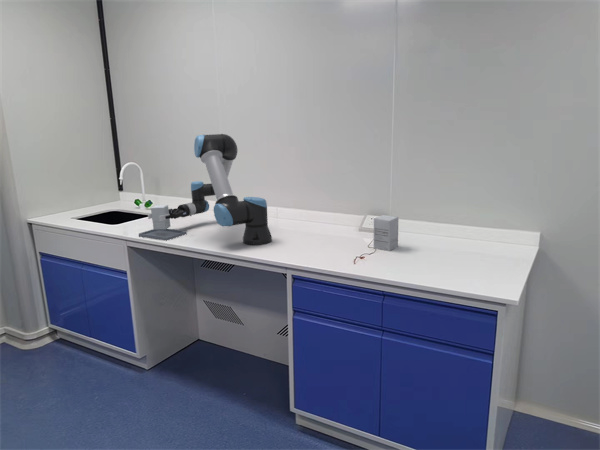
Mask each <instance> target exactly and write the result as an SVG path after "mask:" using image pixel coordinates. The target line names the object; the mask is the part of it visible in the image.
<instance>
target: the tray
mask: <svg viewBox="0 0 600 450" xmlns="http://www.w3.org/2000/svg"><path fill="white" fill-rule="evenodd" d="M185 234H186V235H187V231H186V230H181V229H180V230H179V229H173V228H172V229H171V228H167V229H157V230H154V229H149V230H147V231H143V232H139V233H138V237H141V238H146V239H153V240H160V241H165V240H166V241H167V240H168V241H170V239H171V240H173V238H174V239H176V237H177V238H180V237H183V236H185ZM182 235H183V236H182ZM179 236H180V237H179ZM168 241H167V242H168Z"/></svg>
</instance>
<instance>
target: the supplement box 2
mask: <svg viewBox="0 0 600 450" xmlns="http://www.w3.org/2000/svg"><path fill="white" fill-rule="evenodd" d="M398 247H399V216H392V215H388V214H387V215H385V214H382V215H379V216H377V217H374V218H373V249H377V250H383V251H388V252H390V251H393V250H394V249H396V248H398Z"/></svg>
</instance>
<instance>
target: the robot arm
mask: <svg viewBox="0 0 600 450" xmlns="http://www.w3.org/2000/svg"><path fill="white" fill-rule="evenodd" d="M193 145H194V146H193V152H194V156H195V157H196V158H198V159H199V158H200V161H201V162H202V164H205V167H206V171H207V173H208V176H209V179H210V183H204V181H201V180H200V181H199V180H197V181H192V182H191V183H190V192H191V202H187V203H185V204H184V203H183V204H179V205H178V206H177V208H168V209H169V214H166V215H162V216H159V220H160V221H163V220H167V219H170V220H173V219H174V220H176V219H179V218H185V217H192V216H194V215H199V214H203V213H207V212H208V211H209V209H210V203H209V201H207V199H205V197H211V196H212V197H213V196H215V197H216V201H215V203H214V206H213V217H214V218H215V221H216V222H217V224H218V225H219V226H221V227H233V226H238V225H244V226H245V228H244V231H243V236H242V242H243V244H246V245H250V246H251V245H253V246H254V245H255V246H260V245H265V244H270V243H271V242H273V241H272V240H273V239H272V238H273V237H272V233H271V231H270V227H269V226H268V202H267V200H266V199H265V198H264V197H263V198H262V197H259V196H257V197H256V196H246V197H243V200H239V199H238V196H237V195H235V194H234V193H233V190H232V188H231V185H230V184H231V183H230V182H229V178H228V177H229V174H230V171H231V168H232V165H233V162H234V160H236V158H237V155H238V145H237V143H236V141H235V140H234V138H232V136H230V135H228V134H226V133H225V134H224V133H220V134H219V133H215V134H201V135H200V134H199V135H196V137H195V138H194V143H193ZM147 219H148V220H150V219H151V220H152V213H151V212H150V213H148V214H147Z"/></svg>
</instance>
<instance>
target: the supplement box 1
mask: <svg viewBox="0 0 600 450" xmlns="http://www.w3.org/2000/svg"><path fill="white" fill-rule="evenodd" d="M169 209H170V208H169V204H161V205H160V204H155V205H154V206H152V207H150V213H152V218H151V220H152V228H153V229H154V230H157V229H170V227H171V218H170V219H167V220H163V221H160V220H159V216H162V215H166V214H169Z"/></svg>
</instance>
